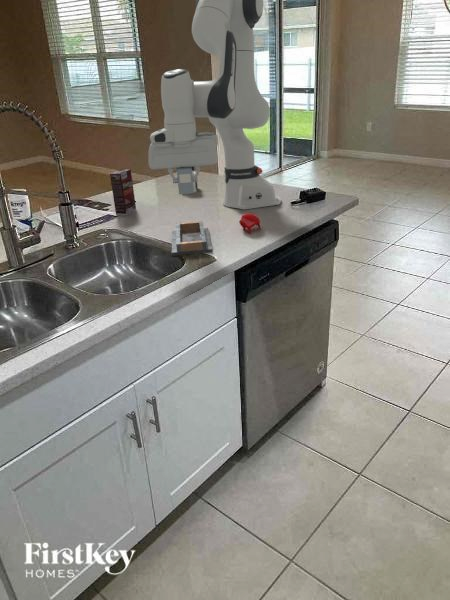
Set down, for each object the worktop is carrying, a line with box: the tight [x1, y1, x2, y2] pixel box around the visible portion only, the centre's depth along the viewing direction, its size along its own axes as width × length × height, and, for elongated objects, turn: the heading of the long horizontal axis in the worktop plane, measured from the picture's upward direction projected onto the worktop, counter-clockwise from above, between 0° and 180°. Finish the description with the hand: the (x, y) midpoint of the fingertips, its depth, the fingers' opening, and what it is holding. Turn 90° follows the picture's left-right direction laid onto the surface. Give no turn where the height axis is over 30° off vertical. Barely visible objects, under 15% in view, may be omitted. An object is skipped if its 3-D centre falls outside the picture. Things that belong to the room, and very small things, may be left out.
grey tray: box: [171, 220, 213, 257], centre depth 148 cm, size 12×20×4 cm, turn 5°
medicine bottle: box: [192, 166, 198, 193], centre depth 205 cm, size 7×7×12 cm
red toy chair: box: [238, 212, 262, 234], centre depth 155 cm, size 8×6×6 cm
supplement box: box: [109, 168, 137, 217], centre depth 179 cm, size 9×5×16 cm, turn 163°
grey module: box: [176, 167, 195, 195], centre depth 139 cm, size 4×7×7 cm, turn 5°
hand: (185, 182), depth 140 cm, fingers closed on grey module, 4 cm apart
